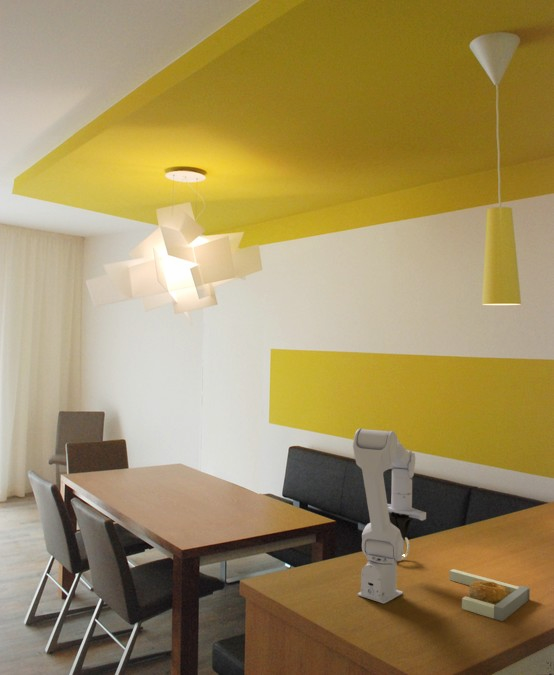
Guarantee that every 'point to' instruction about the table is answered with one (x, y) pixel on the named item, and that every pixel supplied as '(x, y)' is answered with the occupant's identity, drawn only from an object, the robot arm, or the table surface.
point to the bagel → (488, 592)
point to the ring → (406, 548)
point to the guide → (486, 609)
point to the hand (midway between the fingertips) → (400, 540)
